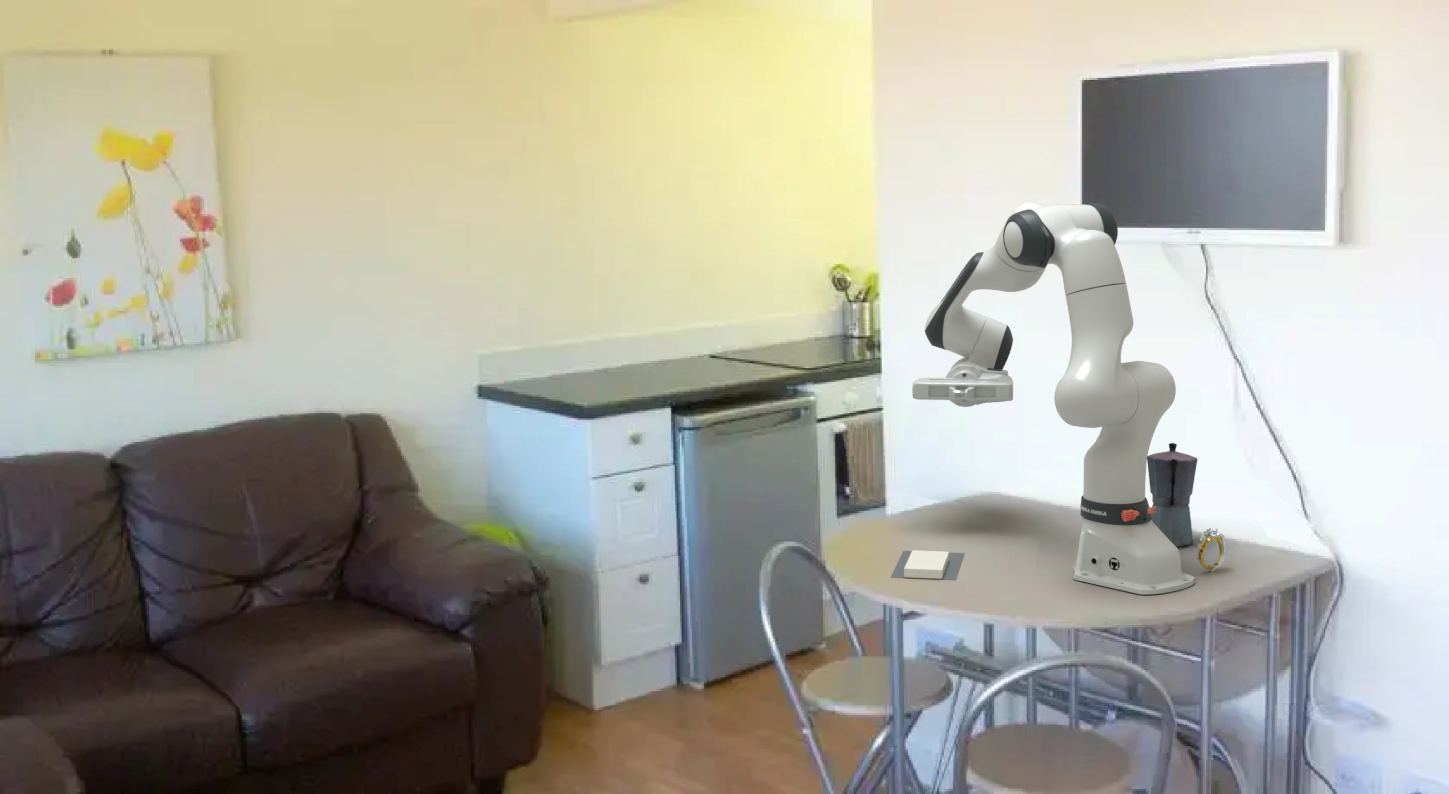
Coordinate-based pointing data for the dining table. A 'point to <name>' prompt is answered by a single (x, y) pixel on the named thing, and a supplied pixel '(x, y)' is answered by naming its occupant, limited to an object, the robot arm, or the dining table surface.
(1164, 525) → the moka pot
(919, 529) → the dining table surface
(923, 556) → the tile
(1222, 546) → the ring
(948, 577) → the mat
